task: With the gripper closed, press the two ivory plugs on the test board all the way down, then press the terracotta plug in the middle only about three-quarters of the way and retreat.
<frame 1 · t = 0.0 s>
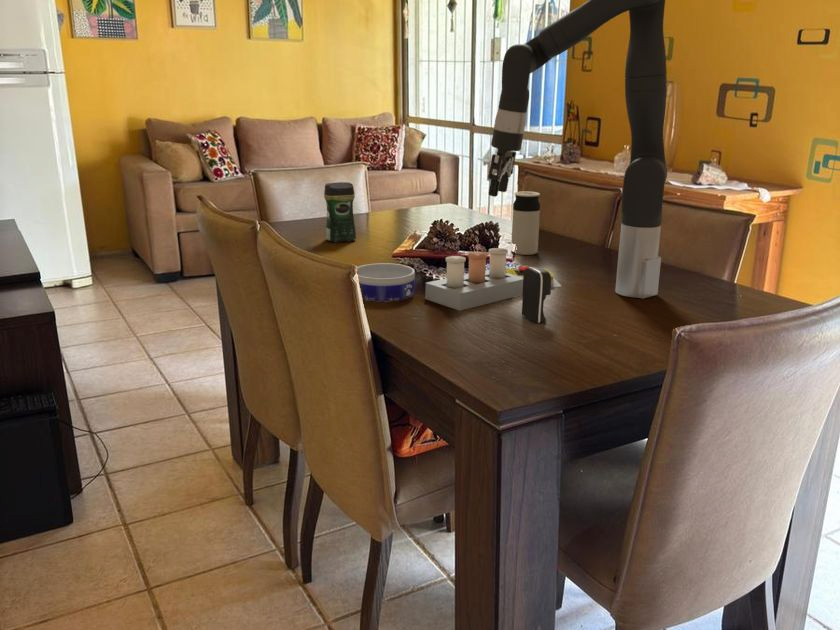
hand: (497, 193, 194), 22 cm above the table, tool pointing down, fingers open, 8 cm apart
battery: (535, 319, 168), on the table
terracotta plug: (477, 268, 182), point 7 cm above the table, slide at 0.0 cm
test board: (476, 296, 184), on the table
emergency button: (529, 285, 197), on the table
dog bowl: (383, 295, 186), on the table
coffee jar: (340, 240, 246), on the table
travel mug: (524, 253, 231), on the table
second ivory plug: (455, 272, 178), point 7 cm above the table, slide at 0.0 cm
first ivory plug: (497, 264, 186), point 7 cm above the table, slide at 0.0 cm
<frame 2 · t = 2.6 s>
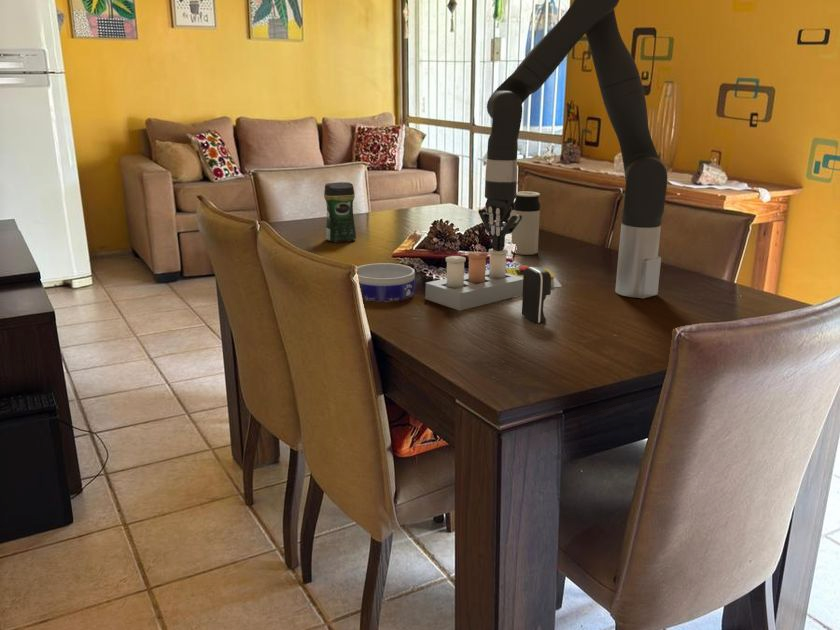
hand: (498, 250, 185), 10 cm above the table, tool pointing down, fingers closed
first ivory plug: (497, 264, 186), point 7 cm above the table, slide at 0.0 cm, touching gripper
everything else where it was.
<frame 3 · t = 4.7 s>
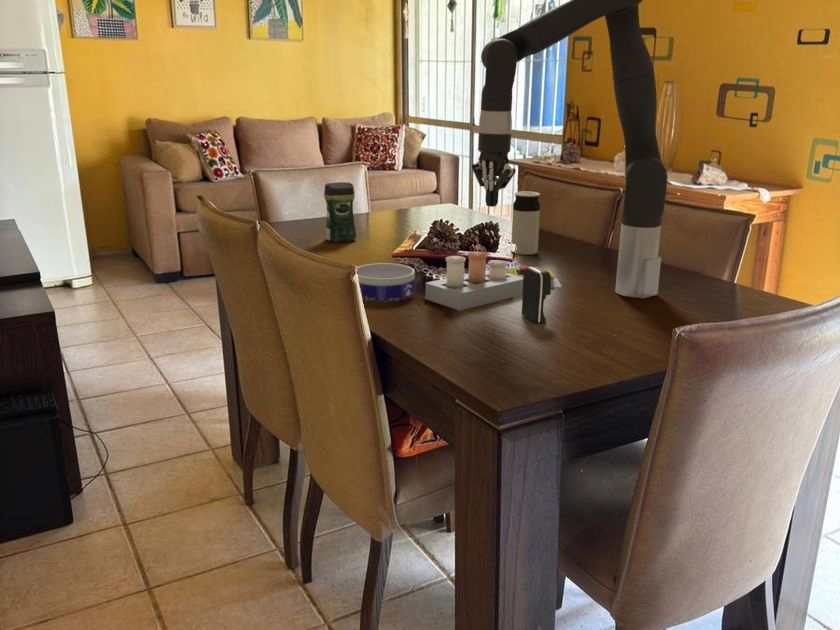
hand: (491, 205, 181), 21 cm above the table, tool pointing down, fingers closed
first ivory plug: (497, 276, 187), point 4 cm above the table, slide at 3.1 cm
everything else where it was.
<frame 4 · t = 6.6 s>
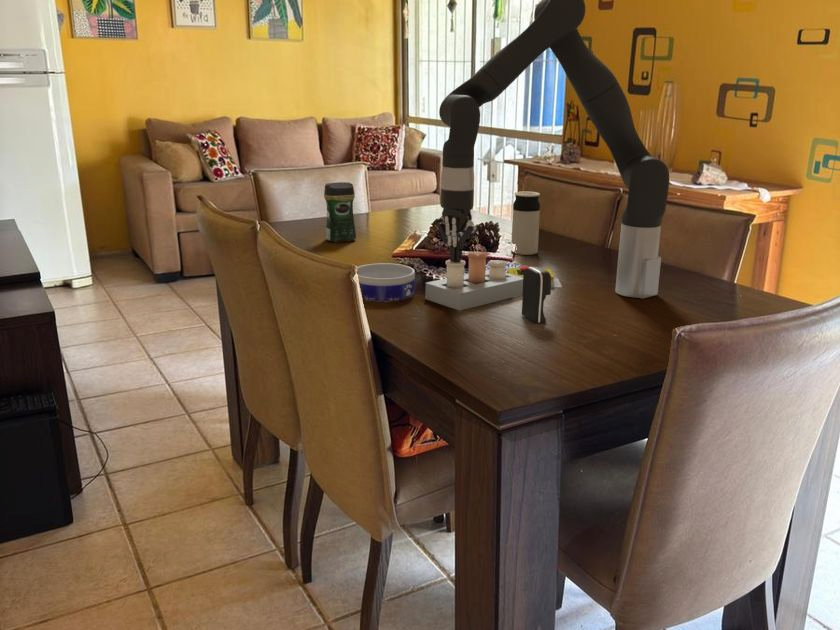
hand: (455, 261, 177), 10 cm above the table, tool pointing down, fingers closed
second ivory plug: (455, 276, 178), point 6 cm above the table, slide at 0.8 cm, touching gripper
everything else where it was.
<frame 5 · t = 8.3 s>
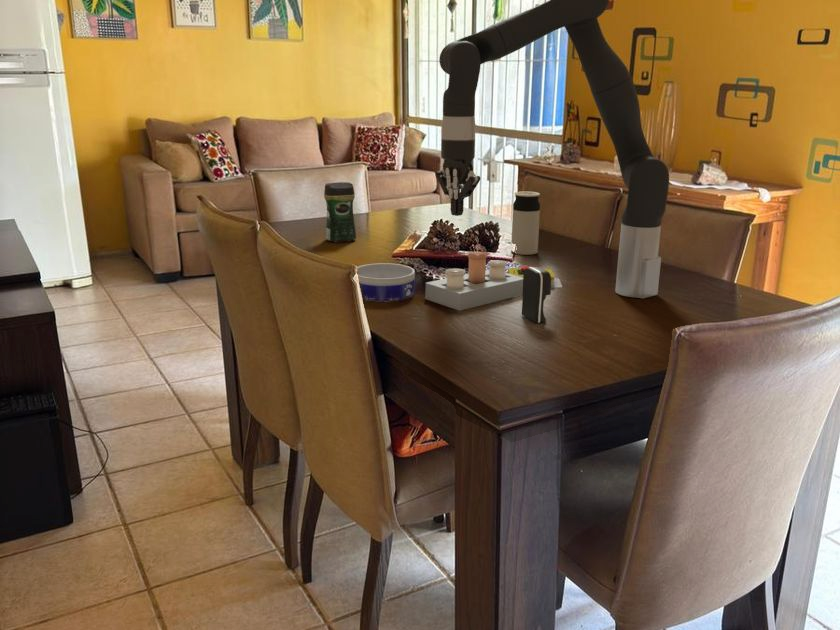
hand: (456, 215, 174), 21 cm above the table, tool pointing down, fingers closed
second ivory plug: (455, 285, 179), point 4 cm above the table, slide at 3.0 cm
everything else where it was.
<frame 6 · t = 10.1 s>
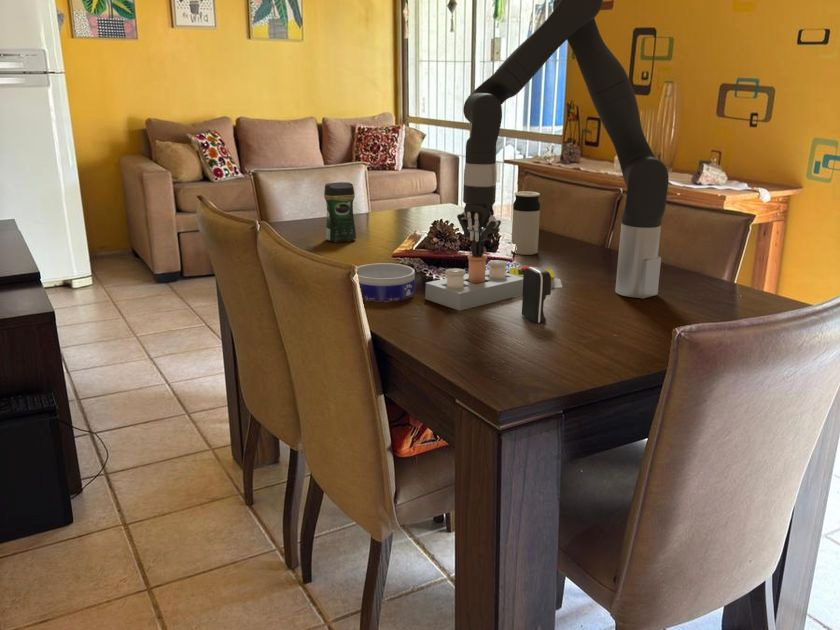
hand: (477, 256, 181), 10 cm above the table, tool pointing down, fingers closed
terracotta plug: (477, 270, 182), point 7 cm above the table, slide at 0.5 cm, touching gripper
everything else where it was.
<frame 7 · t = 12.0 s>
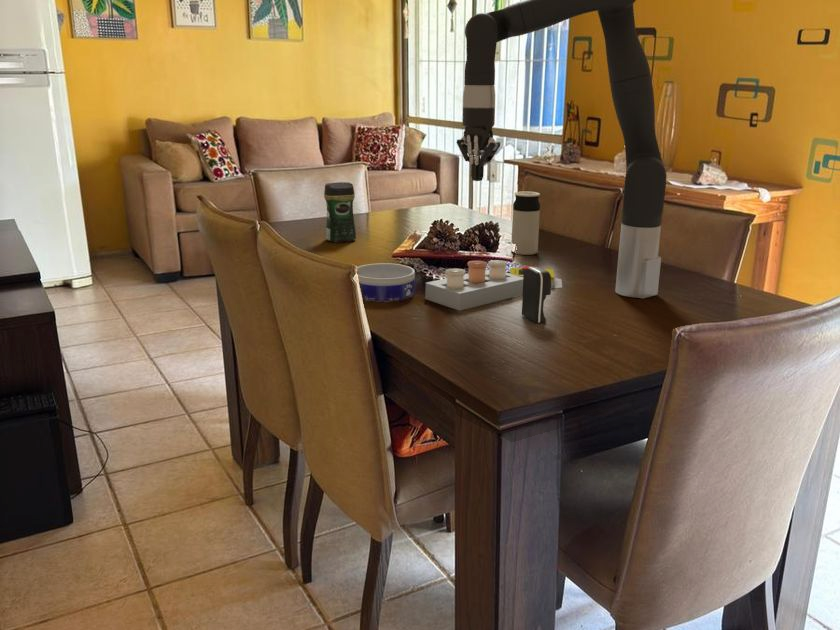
hand: (477, 180, 182), 27 cm above the table, tool pointing down, fingers closed
terracotta plug: (476, 277, 183), point 5 cm above the table, slide at 2.1 cm
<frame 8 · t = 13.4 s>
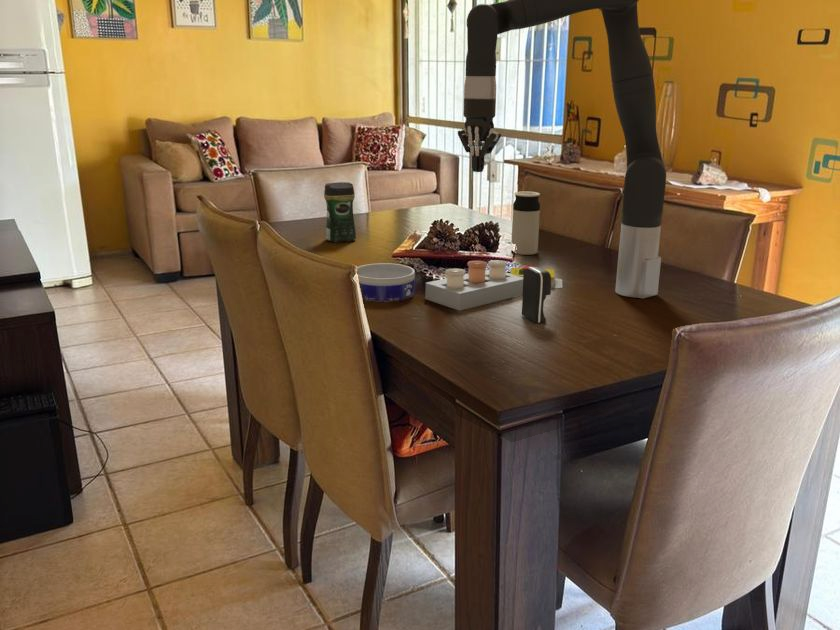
hand: (477, 171, 183), 29 cm above the table, tool pointing down, fingers closed
nothing on the table moved.
at the end: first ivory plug slide at 3.1 cm; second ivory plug slide at 3.0 cm; terracotta plug slide at 2.1 cm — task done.
